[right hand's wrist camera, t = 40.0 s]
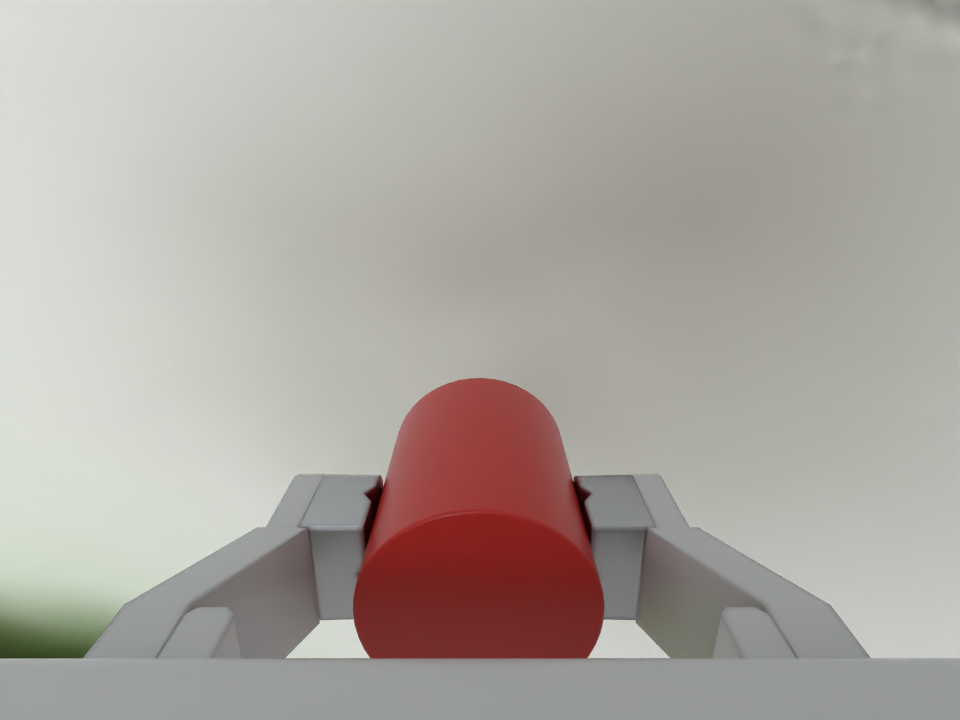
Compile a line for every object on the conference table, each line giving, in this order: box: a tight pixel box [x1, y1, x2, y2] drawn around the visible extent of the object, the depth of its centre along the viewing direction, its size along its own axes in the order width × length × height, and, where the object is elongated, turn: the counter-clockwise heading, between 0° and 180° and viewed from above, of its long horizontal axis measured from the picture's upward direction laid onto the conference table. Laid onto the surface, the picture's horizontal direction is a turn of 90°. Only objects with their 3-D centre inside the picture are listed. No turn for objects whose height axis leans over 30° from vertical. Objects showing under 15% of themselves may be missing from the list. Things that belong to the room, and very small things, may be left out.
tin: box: [353, 378, 605, 658], centre depth 10 cm, size 4×4×4 cm
